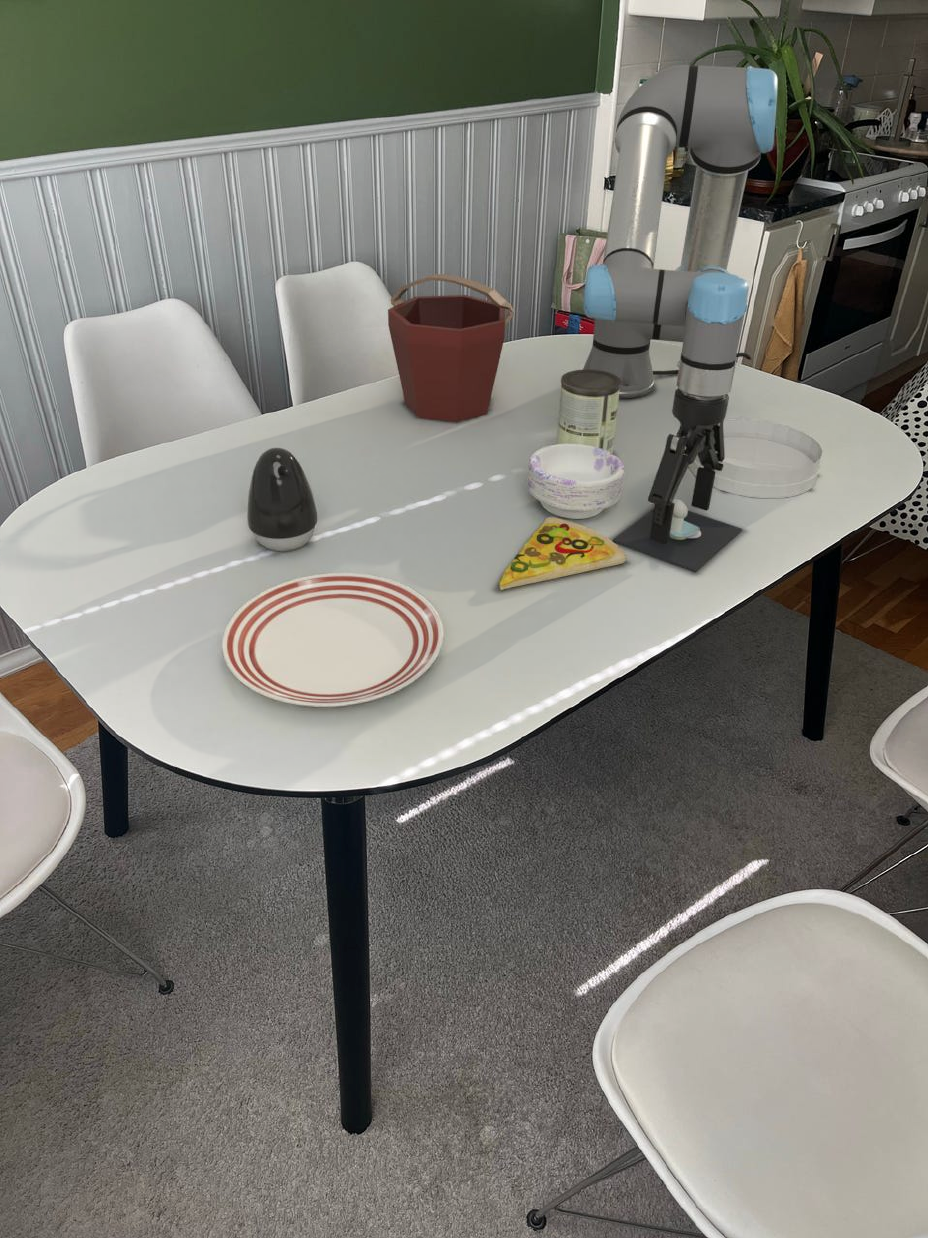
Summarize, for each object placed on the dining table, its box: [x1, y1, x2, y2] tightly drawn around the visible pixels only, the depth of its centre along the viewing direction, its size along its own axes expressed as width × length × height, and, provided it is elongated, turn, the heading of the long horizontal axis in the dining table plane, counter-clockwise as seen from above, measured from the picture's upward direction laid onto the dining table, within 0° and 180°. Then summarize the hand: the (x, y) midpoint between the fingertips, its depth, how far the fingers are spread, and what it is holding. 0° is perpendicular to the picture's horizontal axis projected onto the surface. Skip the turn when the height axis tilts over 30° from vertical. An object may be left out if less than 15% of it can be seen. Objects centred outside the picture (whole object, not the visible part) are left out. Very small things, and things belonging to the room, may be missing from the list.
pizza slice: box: [499, 516, 627, 591], centre depth 137 cm, size 16×21×3 cm
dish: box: [688, 418, 823, 499], centre depth 165 cm, size 22×22×5 cm
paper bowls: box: [526, 443, 626, 520], centre depth 151 cm, size 15×15×8 cm
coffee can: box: [556, 369, 621, 454], centre depth 166 cm, size 10×10×14 cm
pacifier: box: [669, 498, 701, 540], centre depth 144 cm, size 7×6×6 cm
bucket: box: [387, 273, 515, 423], centre depth 181 cm, size 24×22×25 cm
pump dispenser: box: [246, 447, 318, 552], centre depth 138 cm, size 10×10×15 cm
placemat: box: [612, 508, 743, 573], centre depth 146 cm, size 16×14×1 cm
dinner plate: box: [221, 572, 445, 708], centre depth 119 cm, size 28×27×3 cm
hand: (680, 523), depth 145 cm, fingers open, 13 cm apart
